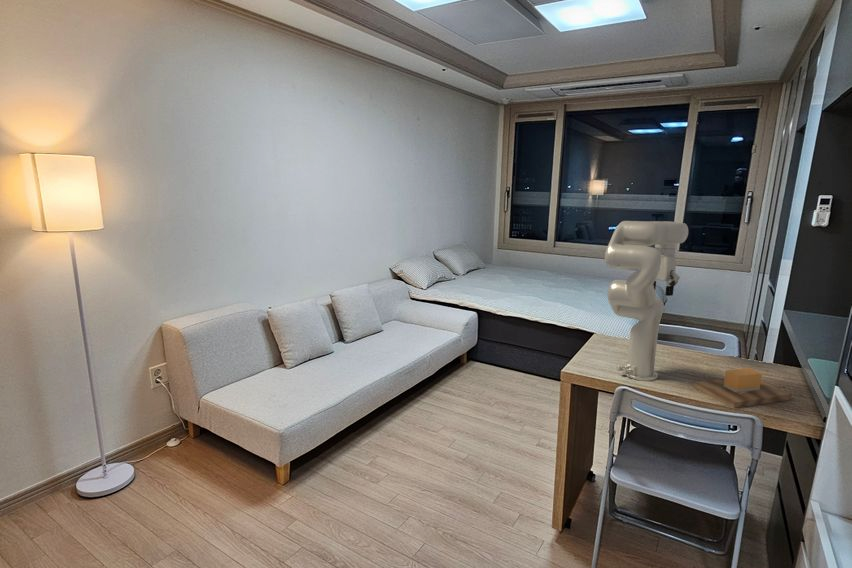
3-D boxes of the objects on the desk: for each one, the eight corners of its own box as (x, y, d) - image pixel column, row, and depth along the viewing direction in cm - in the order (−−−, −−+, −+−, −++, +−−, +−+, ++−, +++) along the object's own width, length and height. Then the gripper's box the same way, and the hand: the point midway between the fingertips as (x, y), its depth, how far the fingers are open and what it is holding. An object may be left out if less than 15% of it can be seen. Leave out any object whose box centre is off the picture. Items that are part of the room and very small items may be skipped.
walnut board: (733, 408, 146) (734, 402, 145) (694, 387, 161) (695, 382, 161) (790, 399, 151) (791, 394, 151) (747, 380, 167) (748, 375, 166)
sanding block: (736, 392, 152) (738, 376, 151) (723, 386, 157) (725, 370, 156) (759, 389, 155) (762, 373, 153) (746, 383, 159) (748, 367, 158)
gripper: (641, 249, 188) (637, 288, 192) (673, 255, 172) (668, 298, 175) (656, 249, 190) (652, 287, 193) (689, 254, 173) (684, 297, 177)
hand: (660, 292), depth 184 cm, fingers open, 9 cm apart
